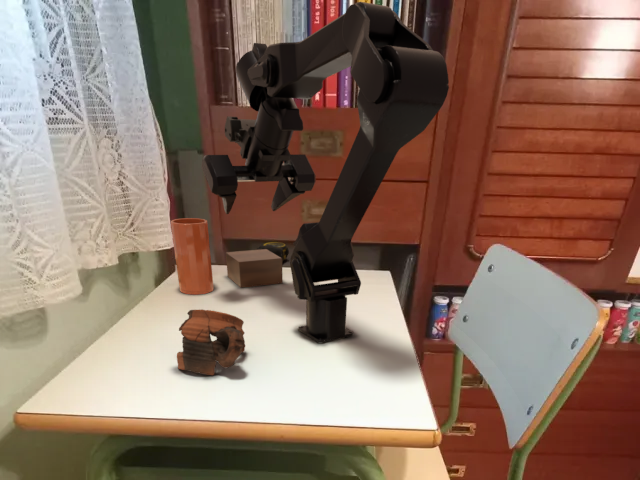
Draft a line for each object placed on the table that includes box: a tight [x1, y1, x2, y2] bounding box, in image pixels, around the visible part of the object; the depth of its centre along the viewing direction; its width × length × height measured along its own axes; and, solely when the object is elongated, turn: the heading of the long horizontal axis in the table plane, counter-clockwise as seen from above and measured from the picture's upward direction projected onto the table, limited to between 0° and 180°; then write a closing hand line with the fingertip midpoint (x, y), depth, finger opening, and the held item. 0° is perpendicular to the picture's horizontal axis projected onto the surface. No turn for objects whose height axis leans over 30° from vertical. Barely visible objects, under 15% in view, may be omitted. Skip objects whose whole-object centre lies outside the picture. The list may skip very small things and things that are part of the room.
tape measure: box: [256, 241, 290, 262], centre depth 114 cm, size 7×7×4 cm
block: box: [225, 249, 283, 289], centre depth 99 cm, size 9×9×5 cm
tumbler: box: [170, 217, 214, 295], centre depth 91 cm, size 6×6×12 cm
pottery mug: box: [176, 309, 246, 376], centre depth 64 cm, size 12×10×8 cm
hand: (250, 210), depth 88 cm, fingers open, 9 cm apart
